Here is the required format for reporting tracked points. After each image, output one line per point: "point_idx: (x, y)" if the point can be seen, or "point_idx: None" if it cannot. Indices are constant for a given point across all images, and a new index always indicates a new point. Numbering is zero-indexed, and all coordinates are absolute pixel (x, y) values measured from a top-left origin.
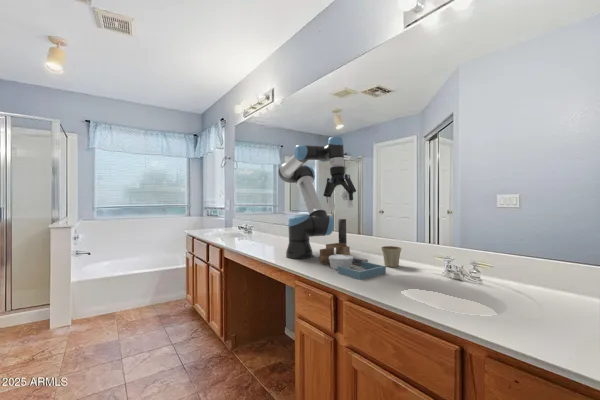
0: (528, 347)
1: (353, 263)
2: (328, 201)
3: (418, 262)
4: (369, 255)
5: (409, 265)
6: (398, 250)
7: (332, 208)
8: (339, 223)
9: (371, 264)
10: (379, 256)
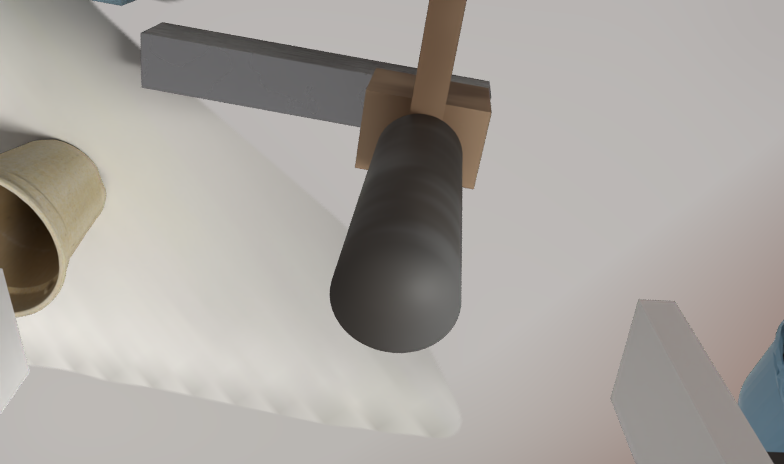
0: None
1: (274, 44)
2: (728, 455)
3: (30, 361)
4: (390, 375)
5: None
6: None
7: (618, 407)
8: (407, 211)
9: None
10: (315, 383)
